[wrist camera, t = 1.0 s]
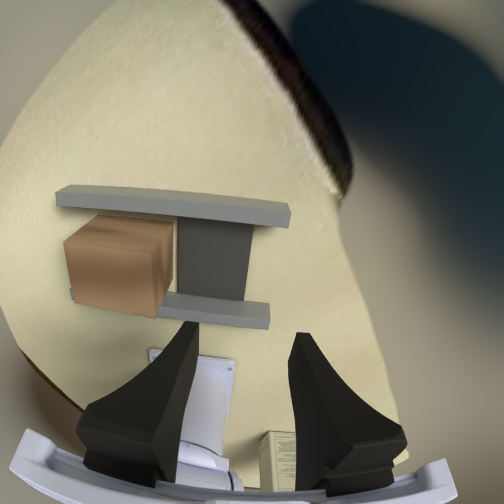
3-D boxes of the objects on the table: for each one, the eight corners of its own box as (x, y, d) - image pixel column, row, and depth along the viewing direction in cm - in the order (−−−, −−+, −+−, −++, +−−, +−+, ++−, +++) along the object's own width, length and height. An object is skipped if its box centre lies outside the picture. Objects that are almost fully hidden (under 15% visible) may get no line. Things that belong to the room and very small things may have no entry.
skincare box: (257, 442, 33) (258, 521, 22) (268, 429, 31) (271, 516, 20) (300, 446, 34) (307, 521, 23) (314, 433, 32) (325, 514, 21)
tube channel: (267, 313, 23) (268, 329, 21) (82, 286, 22) (72, 299, 20) (287, 203, 19) (291, 212, 17) (70, 184, 18) (55, 192, 16)
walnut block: (173, 277, 22) (155, 318, 17) (104, 267, 21) (75, 302, 17) (173, 221, 20) (151, 253, 15) (98, 214, 19) (63, 242, 15)
